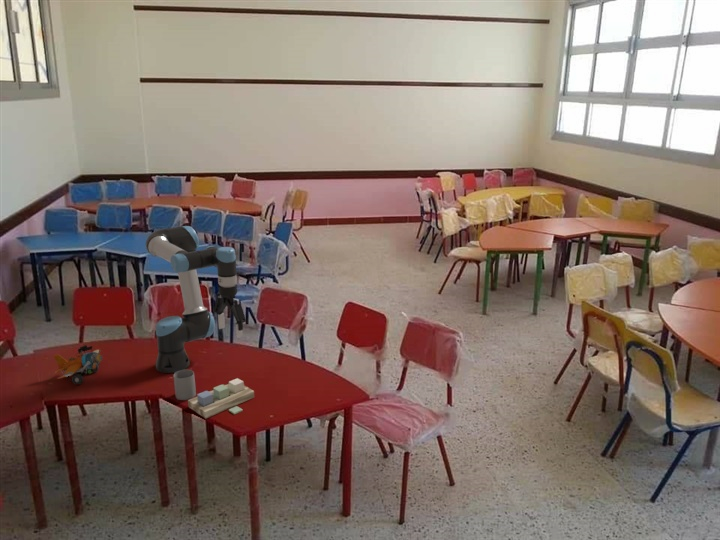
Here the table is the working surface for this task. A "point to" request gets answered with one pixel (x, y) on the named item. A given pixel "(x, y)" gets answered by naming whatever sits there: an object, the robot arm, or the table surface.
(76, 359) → the toy airplane
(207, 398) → the button blue
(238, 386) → the button cream
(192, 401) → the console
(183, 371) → the cup
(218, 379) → the table surface
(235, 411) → the tile
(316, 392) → the table surface
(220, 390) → the button sage
